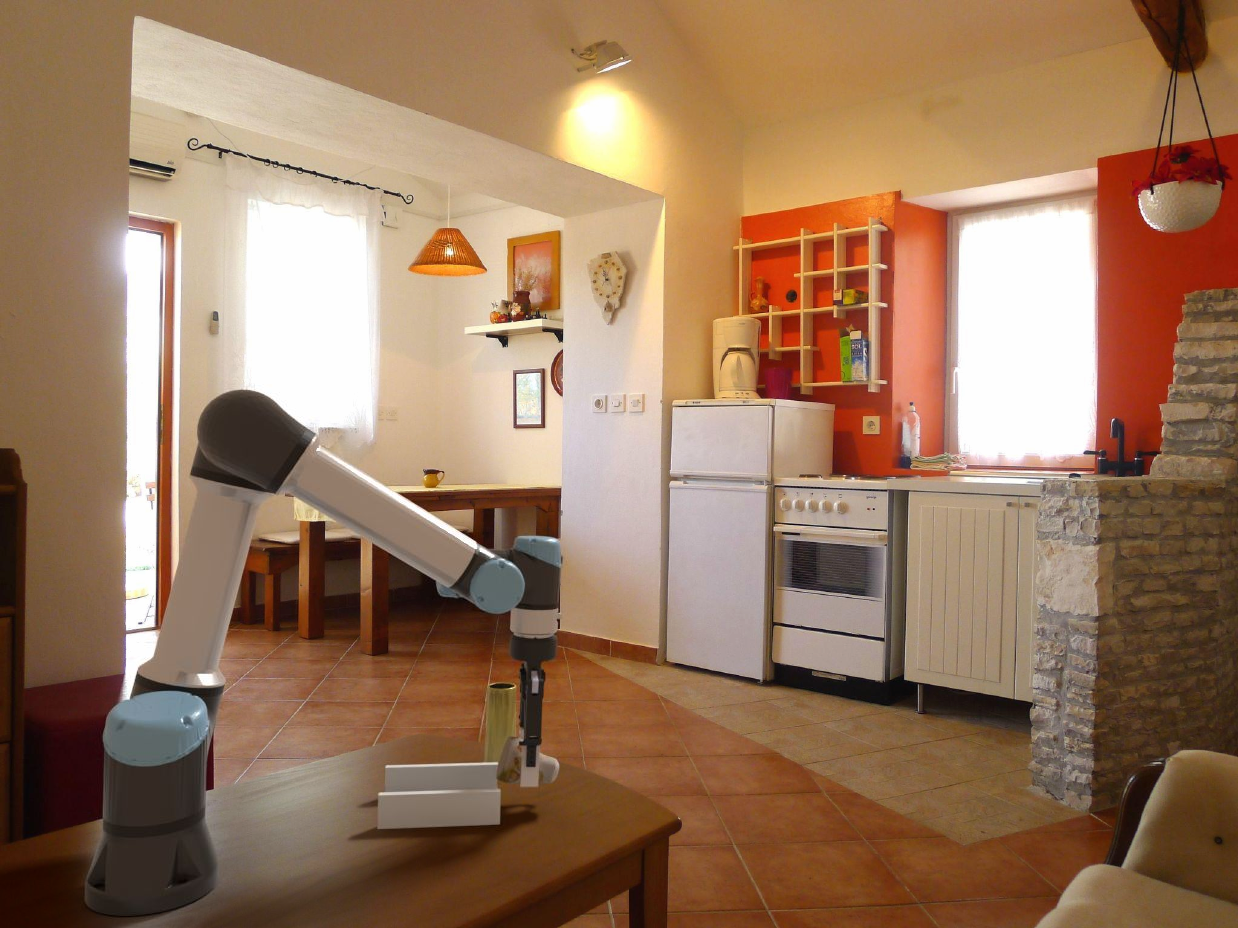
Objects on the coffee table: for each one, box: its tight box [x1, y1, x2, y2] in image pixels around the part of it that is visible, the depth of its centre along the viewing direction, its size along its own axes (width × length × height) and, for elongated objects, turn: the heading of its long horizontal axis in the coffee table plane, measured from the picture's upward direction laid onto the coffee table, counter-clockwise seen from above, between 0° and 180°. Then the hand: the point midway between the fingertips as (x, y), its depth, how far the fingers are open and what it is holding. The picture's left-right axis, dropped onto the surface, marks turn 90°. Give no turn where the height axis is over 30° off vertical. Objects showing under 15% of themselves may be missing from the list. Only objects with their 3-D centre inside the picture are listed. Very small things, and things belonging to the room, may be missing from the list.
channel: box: [376, 762, 501, 830], centre depth 146 cm, size 18×14×5 cm
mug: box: [496, 736, 560, 785], centre depth 148 cm, size 8×10×10 cm
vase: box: [482, 681, 517, 764], centre depth 168 cm, size 6×6×14 cm
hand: (527, 777), depth 148 cm, fingers closed on mug, 7 cm apart
